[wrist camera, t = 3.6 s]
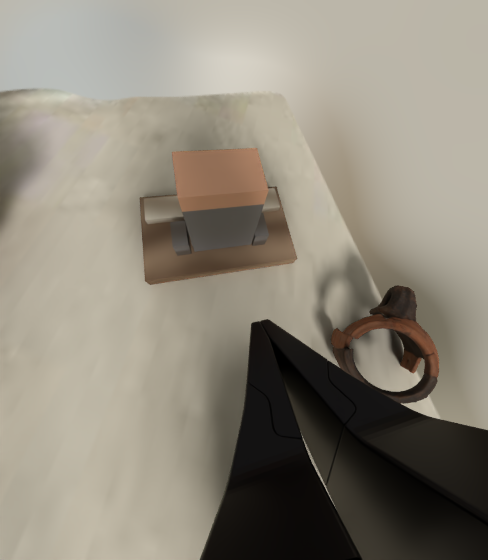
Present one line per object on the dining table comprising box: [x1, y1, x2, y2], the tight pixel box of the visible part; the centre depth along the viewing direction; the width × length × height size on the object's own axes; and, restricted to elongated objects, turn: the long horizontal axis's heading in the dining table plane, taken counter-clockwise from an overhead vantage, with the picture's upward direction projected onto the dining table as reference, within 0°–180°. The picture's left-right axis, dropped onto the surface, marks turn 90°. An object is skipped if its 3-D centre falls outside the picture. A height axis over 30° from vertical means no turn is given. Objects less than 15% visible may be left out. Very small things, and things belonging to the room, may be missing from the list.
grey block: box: [172, 148, 269, 252], centre depth 18 cm, size 4×7×10 cm, turn 101°
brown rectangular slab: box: [140, 187, 297, 285], centre depth 23 cm, size 11×18×4 cm, turn 101°
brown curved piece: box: [331, 286, 439, 403], centre depth 21 cm, size 12×10×8 cm
